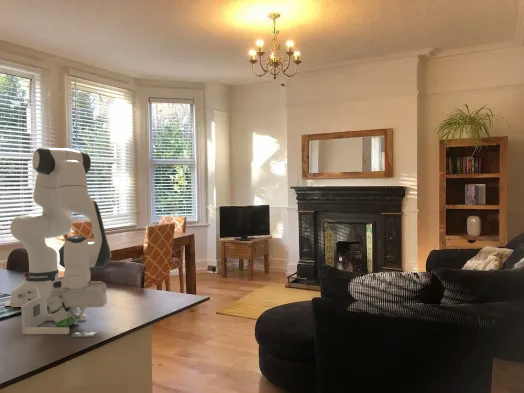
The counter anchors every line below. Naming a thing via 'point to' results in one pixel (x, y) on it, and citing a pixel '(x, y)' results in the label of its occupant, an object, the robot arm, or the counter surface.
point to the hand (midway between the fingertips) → (78, 319)
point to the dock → (39, 318)
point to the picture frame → (83, 335)
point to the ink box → (60, 311)
